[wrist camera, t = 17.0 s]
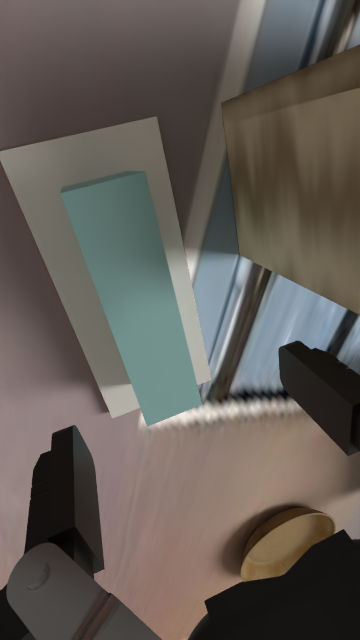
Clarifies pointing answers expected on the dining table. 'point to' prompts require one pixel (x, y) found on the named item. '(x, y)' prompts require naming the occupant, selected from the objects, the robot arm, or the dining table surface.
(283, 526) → the plant saucer
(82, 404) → the dining table surface
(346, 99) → the oak cubby shelf
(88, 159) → the stone board
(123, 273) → the teal block
